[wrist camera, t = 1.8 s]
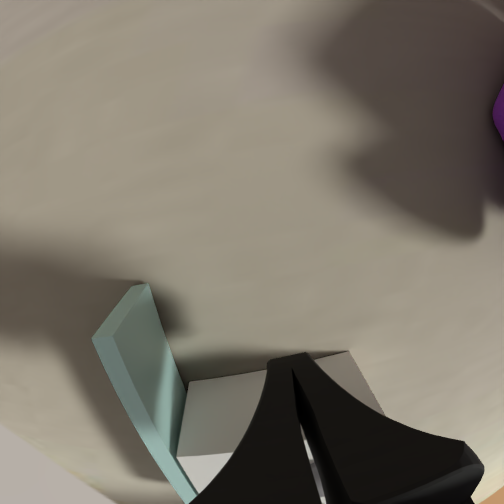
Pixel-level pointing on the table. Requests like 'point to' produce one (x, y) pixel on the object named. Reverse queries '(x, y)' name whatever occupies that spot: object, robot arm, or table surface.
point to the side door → (146, 380)
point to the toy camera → (499, 112)
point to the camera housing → (245, 416)
